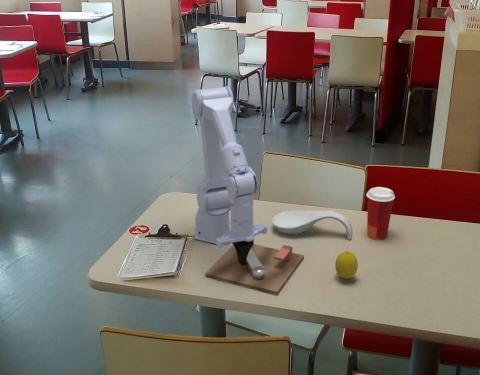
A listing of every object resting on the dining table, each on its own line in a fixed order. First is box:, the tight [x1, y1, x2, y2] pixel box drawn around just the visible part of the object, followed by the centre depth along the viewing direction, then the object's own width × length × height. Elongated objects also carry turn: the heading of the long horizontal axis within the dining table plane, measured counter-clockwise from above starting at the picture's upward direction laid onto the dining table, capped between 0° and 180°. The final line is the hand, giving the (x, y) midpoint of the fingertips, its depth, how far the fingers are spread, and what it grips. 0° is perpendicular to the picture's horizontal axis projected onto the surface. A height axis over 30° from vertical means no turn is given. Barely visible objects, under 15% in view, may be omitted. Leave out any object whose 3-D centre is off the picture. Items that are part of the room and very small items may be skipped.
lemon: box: [334, 250, 359, 280], centre depth 137 cm, size 6×6×8 cm
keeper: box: [274, 244, 293, 261], centre depth 144 cm, size 2×7×3 cm, turn 154°
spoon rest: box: [271, 210, 353, 241], centre depth 161 cm, size 24×12×7 cm, turn 74°
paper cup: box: [366, 186, 396, 241], centre depth 156 cm, size 8×8×14 cm
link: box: [237, 248, 265, 279], centre depth 143 cm, size 16×4×2 cm, turn 17°
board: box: [204, 244, 305, 296], centre depth 144 cm, size 20×19×1 cm
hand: (242, 263), depth 143 cm, fingers closed, pressing on link
